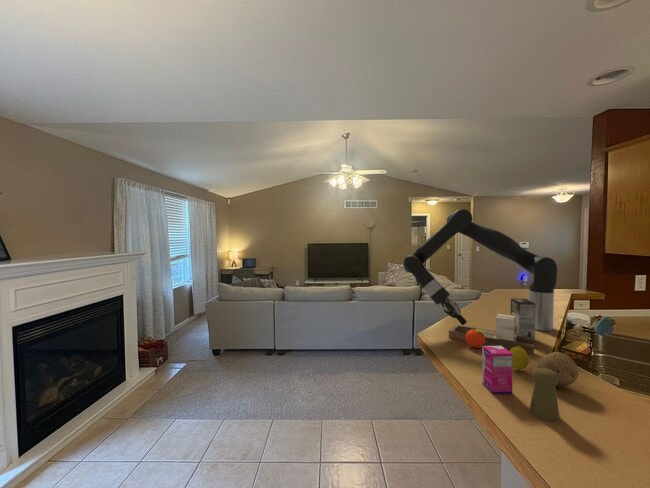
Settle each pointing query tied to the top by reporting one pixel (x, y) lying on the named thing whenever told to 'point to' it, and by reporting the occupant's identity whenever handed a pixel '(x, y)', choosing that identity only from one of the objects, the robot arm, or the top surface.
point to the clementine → (475, 338)
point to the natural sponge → (561, 368)
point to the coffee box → (523, 316)
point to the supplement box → (497, 369)
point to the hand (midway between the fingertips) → (465, 323)
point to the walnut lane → (495, 338)
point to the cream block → (505, 326)
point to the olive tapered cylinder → (545, 395)
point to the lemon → (519, 358)
